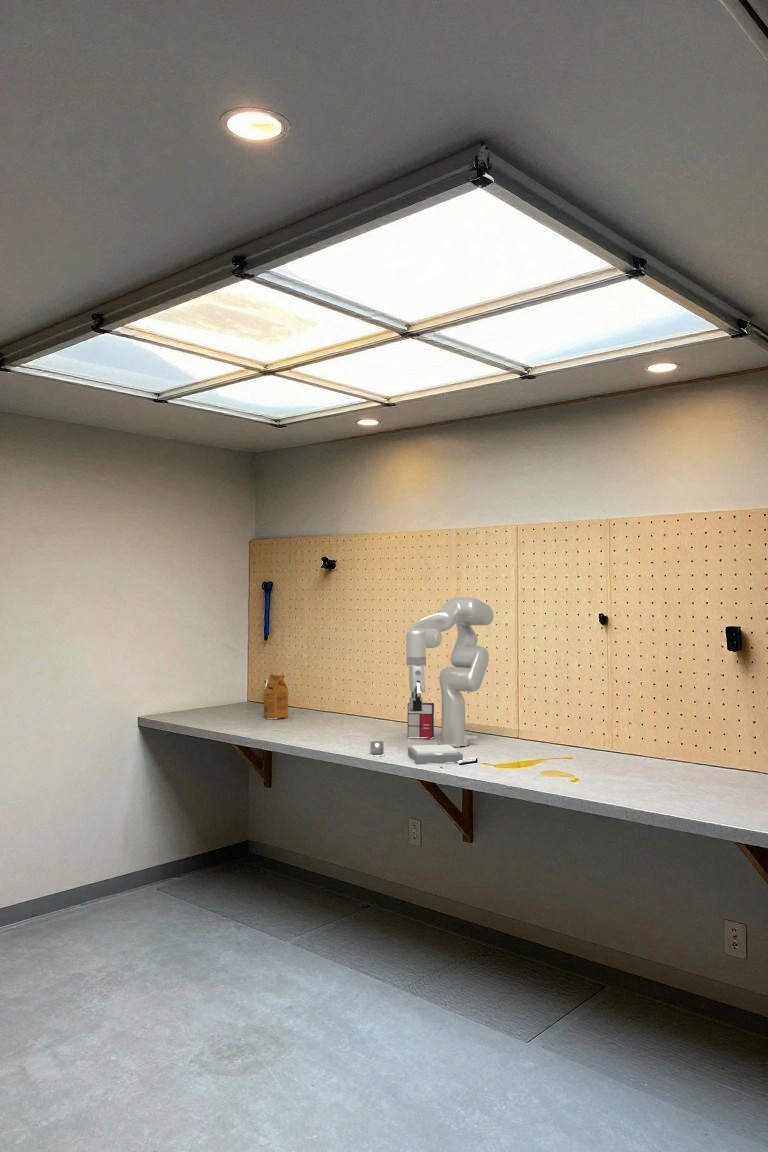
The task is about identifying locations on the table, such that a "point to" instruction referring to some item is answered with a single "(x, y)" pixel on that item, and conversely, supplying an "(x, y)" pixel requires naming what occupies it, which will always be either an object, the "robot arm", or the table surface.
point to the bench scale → (434, 754)
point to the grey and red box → (421, 722)
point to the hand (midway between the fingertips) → (416, 709)
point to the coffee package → (276, 697)
